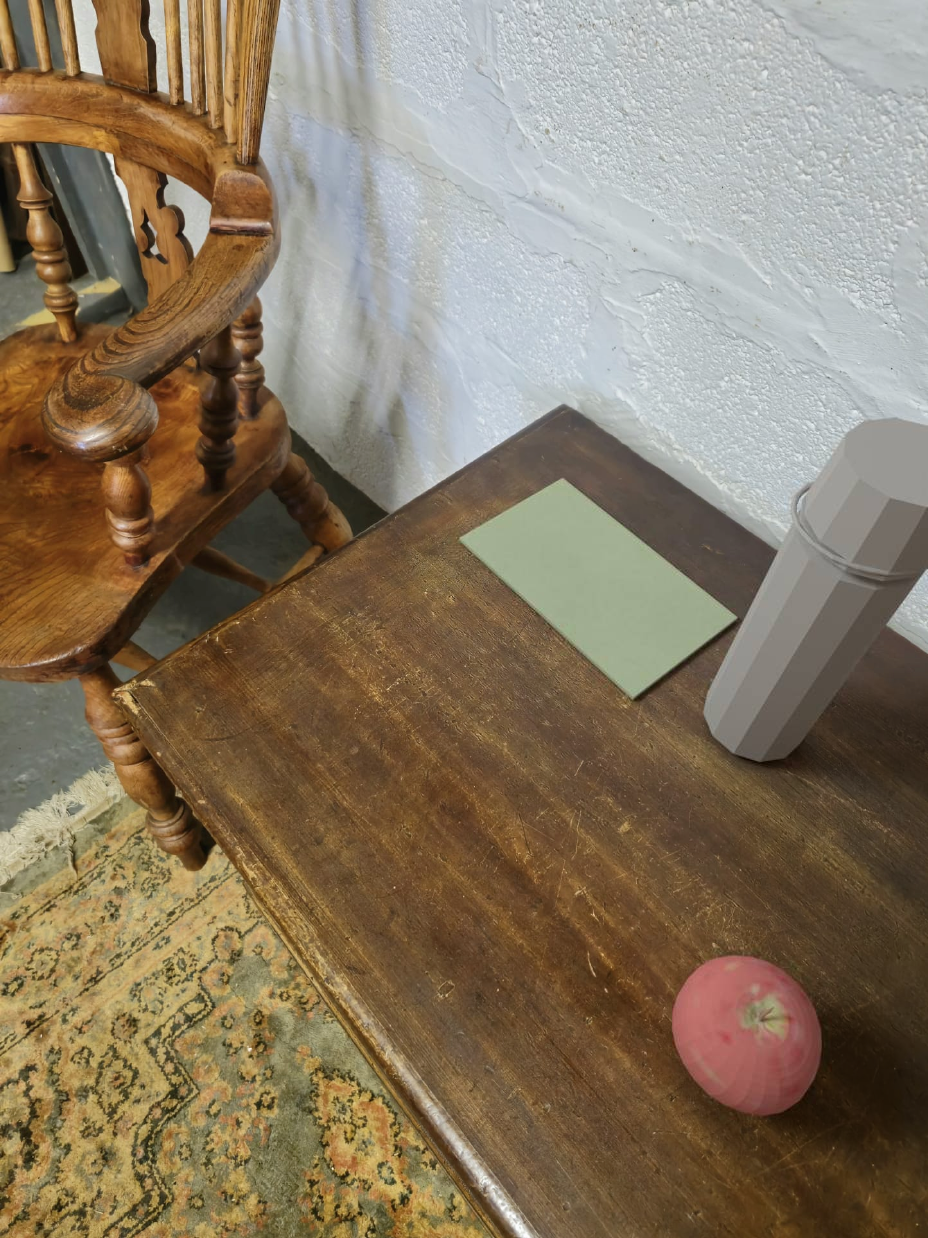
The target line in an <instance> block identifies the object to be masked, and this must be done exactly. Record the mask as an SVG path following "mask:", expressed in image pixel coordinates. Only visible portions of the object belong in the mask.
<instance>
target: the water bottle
mask: <svg viewBox="0 0 928 1238" xmlns="http://www.w3.org/2000/svg"><path fill="white" fill-rule="evenodd" d="M805 493H806V495H804V494H805ZM803 495H804V496H803ZM802 496H803V498H802ZM801 498H802V500H801V504H800V509H799V510H798V504H799V502H800V501H799V500H800V499H801ZM789 513H790V517H791V520H792V523H791V525H790V527H789V529H788V530H787V533H786V535H785V537H784V539H783V541H782V543H781V545H780V546H779V549H778V551H777V552H776V555H775V557H774V559H773V561H772V563H771V565H770V567H769V569H768V571H767V572H766V574H765V576H764V579H763V581H762V583H761V584H760V586H759V589H758V591H757V593H756V595H755V597H754V599H753V600H752V603H751V605H750V607H749V609H748V611H747V613H746V614H745V617H744V619H743V621H742V623H741V624H740V627H739V629H738V631H737V633H736V634H735V637H734V639H733V640H732V643H731V645H730V647H729V649H728V651H727V653H726V655H725V657H724V659H723V660H722V662H721V665H720V667H719V669H718V670H717V673H716V675H715V677H714V678H713V681H712V683H711V685H710V686H709V689H708V690H707V693H706V697H705V703H704V708H703V712H702V714H703V716H704V719H705V721H706V724H707V726H708V728H709V731H710V733H711V735H712V737H713V738H714V739H715V740H716V741H718V742H719V743H720V744H721V745H722V746H724V747H725V748H726V749H727V750H728V751H729V752H730V753H732V754H733V755H736V756H738V757H743V758H746V759H748V760H752V761H755V762H759V763H762V762H768V761H769V762H770V761H775V760H776V761H777V760H781V759H782V760H783V759H786V758H787V757H788V756H789V755H790V754H791V753H792V752H794V750H795V749H797V748H798V746H799V745H800V744H801V743H802V742H803V741H804V739H805V738H806V736H807V735H808V733H809V732H810V731H811V730H812V728H813V727H814V725H815V724H816V722H817V721H818V720H819V719H820V717H821V715H823V713H824V712H825V710H826V709H827V707H828V706H829V705H830V704H831V702H832V700H833V699H834V698H835V696H836V695H837V693H839V691H840V689H841V688H842V687H843V686H844V684H845V682H846V681H847V680H848V678H849V677H850V676H851V674H852V673H853V671H854V670H855V668H856V667H857V666H858V664H859V663H860V662H861V661H862V659H863V657H864V656H865V655H866V654H867V652H868V651H869V649H870V648H871V647H872V646H873V644H874V642H875V641H876V640H877V638H878V637H879V636H880V634H881V633H882V632H883V630H884V629H885V627H886V626H887V625H888V623H889V622H890V620H891V619H892V617H893V616H894V615H895V614H896V612H897V611H898V609H899V608H900V607H901V605H902V604H903V602H904V601H905V600H906V598H907V597H908V595H909V594H910V593H911V591H912V590H913V589H914V587H915V586H916V584H917V583H918V582H919V580H920V579H921V578H922V576H923V575H924V573H926V571H927V570H928V425H927V424H923V423H918V422H914V421H909V420H905V419H902V418H897V417H888V418H878V419H877V418H876V419H867V420H863V421H861V422H860V423H859V424H857V425H856V426H855V427H853V428H852V429H851V430H849V431H848V432H846V433H845V434H844V436H843V437H842V439H841V440H840V442H839V443H838V444H837V446H836V448H835V449H834V451H833V453H832V454H831V456H830V457H829V458H828V460H827V461H826V462H825V464H824V467H823V468H822V470H821V471H820V472H819V474H818V475H817V477H816V478H815V480H812V481H810V482H806V483H805V484H804V485H803V486H801V487H800V489H799V490H797V492H795V493H794V494H793V495H792V497H791V504H790V509H789Z"/></svg>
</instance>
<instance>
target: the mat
mask: <svg viewBox="0 0 928 1238" xmlns="http://www.w3.org/2000/svg"><path fill="white" fill-rule="evenodd" d="M458 540H459V542H460V543H461V544H462V545H463V546H464V547H465V548H466V549H467V550H469V551H470V552H471V553H472V554H473V555H474V556H475V557H476V558H477V559H478V560H479V561H480V562H481V563H483V564H484V565H485V566H486V567H487V568H488V569H489V570H490V571H492V572H493V573H494V574H495V575H496V576H497V577H498V578H499V579H500V580H501V581H503V583H504V584H505V585H507V586H508V587H509V588H510V589H511V590H512V591H513V592H514V593H515V594H516V595H518V596H519V597H520V598H521V600H523V601H524V602H525V603H526V604H527V605H529V606H530V607H531V609H533V610H534V611H535V612H536V613H537V614H538V615H539V616H540V617H542V618H543V619H544V620H545V621H546V622H547V623H548V624H549V625H550V626H551V627H552V628H554V629H555V631H557V632H558V633H559V634H560V635H561V636H562V637H563V638H565V640H566V641H567V642H569V643H570V644H571V645H572V646H573V647H574V648H575V649H576V650H577V651H578V652H580V653H581V655H583V656H584V657H585V658H586V659H587V660H588V661H590V663H592V665H594V666H595V667H596V668H597V669H598V670H599V671H600V672H601V673H603V674H604V676H606V677H607V678H608V679H609V680H610V681H611V682H612V683H613V684H615V685H616V686H617V687H618V688H619V689H620V690H621V691H622V692H623V693H625V694H626V695H627V696H628V697H629V699H631V700H632V701H634V700H635V699H637V698H638V697H639V696H641V695H642V694H643V693H645V692H646V691H647V690H648V689H650V688H651V687H652V686H654V685H655V684H656V683H657V682H659V681H660V680H661V679H663V678H664V677H666V676H667V675H668V674H669V673H671V672H672V671H673V670H674V669H676V668H677V667H678V666H679V665H680V664H682V663H684V662H685V661H686V660H687V659H689V658H690V657H691V656H693V655H694V654H695V653H697V652H698V651H699V650H700V649H701V648H703V647H704V646H706V645H707V644H708V643H710V642H711V641H712V640H713V639H714V638H716V637H718V635H720V634H721V633H723V632H724V631H725V630H726V629H728V628H729V627H730V626H731V625H733V624H734V623H736V622H737V621H738V619H739V617H738V616H737V615H736V614H734V613H733V612H732V611H731V610H730V609H728V608H727V607H725V605H723V604H722V603H721V602H719V601H718V600H716V598H714V597H713V596H712V595H711V594H709V593H708V592H707V591H705V590H704V589H703V588H701V587H700V586H699V585H698V584H696V583H695V582H694V581H693V580H692V579H691V578H690V577H688V576H686V575H685V574H684V573H683V572H682V571H680V570H679V569H677V568H676V567H675V566H674V565H673V564H672V563H670V562H669V561H668V560H667V559H665V558H664V557H663V556H662V555H660V554H659V553H658V552H657V551H655V550H654V549H653V548H652V547H650V546H649V545H648V544H646V543H645V542H644V541H643V540H642V539H640V538H639V537H638V536H637V535H635V534H634V533H633V532H631V531H630V530H629V529H628V528H626V527H625V526H624V525H623V524H621V523H620V522H619V521H618V520H616V519H615V518H614V517H613V516H611V515H610V514H609V513H608V512H606V511H605V510H604V509H603V508H601V507H600V506H599V505H598V504H596V502H594V501H593V500H591V499H590V498H589V497H588V496H586V495H585V494H584V493H582V492H581V491H580V489H578V488H576V487H575V486H574V485H572V483H570V482H569V481H567V480H566V479H565V478H564V477H561V478H560V479H558V480H556V481H554V482H552V483H551V484H550V485H547V486H546V487H544V488H542V489H540V490H539V491H538V492H535V493H534V494H532V495H530V496H529V497H527V498H526V499H523V500H522V501H520V502H518V503H516V504H515V505H513V506H512V507H510V508H508V509H507V510H505V511H503V512H501V513H499V514H498V515H496V516H494V517H493V518H491V519H488V521H486V522H484V523H482V524H480V525H479V526H477V527H475V528H474V529H472V530H470V531H469V532H467V533H465V534H463V535H462V536H460V537H459V539H458Z"/></svg>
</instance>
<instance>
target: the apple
mask: <svg viewBox="0 0 928 1238" xmlns="http://www.w3.org/2000/svg"><path fill="white" fill-rule="evenodd" d="M671 1015H672V1016H671V1031H672V1035H673V1040H674V1047H675V1049H676V1050H677V1053H678V1055H679V1057H680V1060H681V1061H682V1064H683V1065H684V1067H685V1069H686V1070H687V1071H688V1073H689V1075H690V1076H691V1077H692V1079H693V1081H695V1083H696V1084H698V1086H699V1087H701V1089H703V1091H704V1092H705V1093H706V1094H707V1095H708V1096H710V1097H711V1098H713V1099H715V1100H716V1101H717V1102H718V1103H720V1104H722V1105H723V1106H725V1107H728V1108H731V1109H733V1110H736V1111H738V1112H739V1113H744V1114H749V1115H755V1116H759V1117H760V1116H761V1117H762V1116H763V1117H764V1116H770V1115H775V1114H780V1113H783V1112H785V1111H786V1110H789V1108H791V1107H792V1106H794V1105H795V1104H797V1103H798V1102H800V1100H801V1099H803V1097H804V1095H805V1094H806V1093H807V1091H808V1090H809V1088H810V1087H811V1085H812V1084H813V1082H814V1080H815V1078H816V1075H817V1072H818V1070H819V1067H820V1063H821V1055H822V1050H823V1040H822V1039H823V1037H822V1029H821V1025H820V1021H819V1018H818V1015H817V1011H816V1009H815V1007H814V1006H813V1003H812V1002H811V1000H810V998H809V996H808V995H807V993H806V992H805V991H804V990H803V988H802V987H801V985H800V984H799V982H797V980H795V979H794V978H793V977H791V975H789V974H788V973H787V972H786V971H784V970H783V969H782V968H780V967H778V966H776V965H775V964H773V963H772V962H769V961H767V960H764V959H761V958H757V957H755V956H748V955H737V954H736V955H727V956H719V957H714V958H711V959H710V960H707V961H706V962H705V963H703V964H701V965H700V966H698V967H697V968H696V969H695V970H694V971H693V972H692V973H691V975H689V976H688V978H686V980H685V982H684V984H683V985H682V987H681V989H680V990H679V992H678V994H677V995H676V999H675V1002H674V1006H673V1009H672V1014H671Z"/></svg>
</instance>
